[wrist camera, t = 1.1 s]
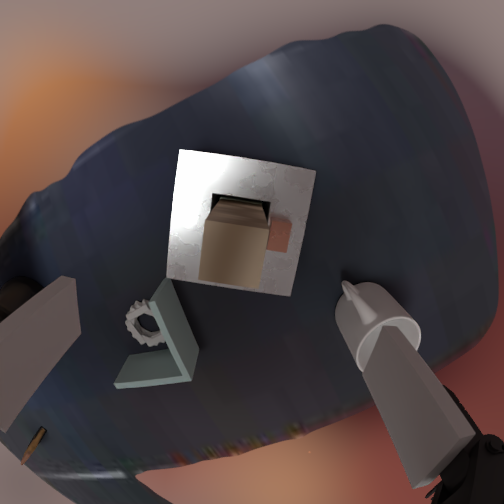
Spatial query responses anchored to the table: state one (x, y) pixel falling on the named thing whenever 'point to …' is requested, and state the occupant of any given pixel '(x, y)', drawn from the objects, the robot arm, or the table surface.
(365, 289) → the mug
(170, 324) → the right angle wall
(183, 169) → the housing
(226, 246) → the column
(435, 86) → the table surface
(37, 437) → the ammunition clip
